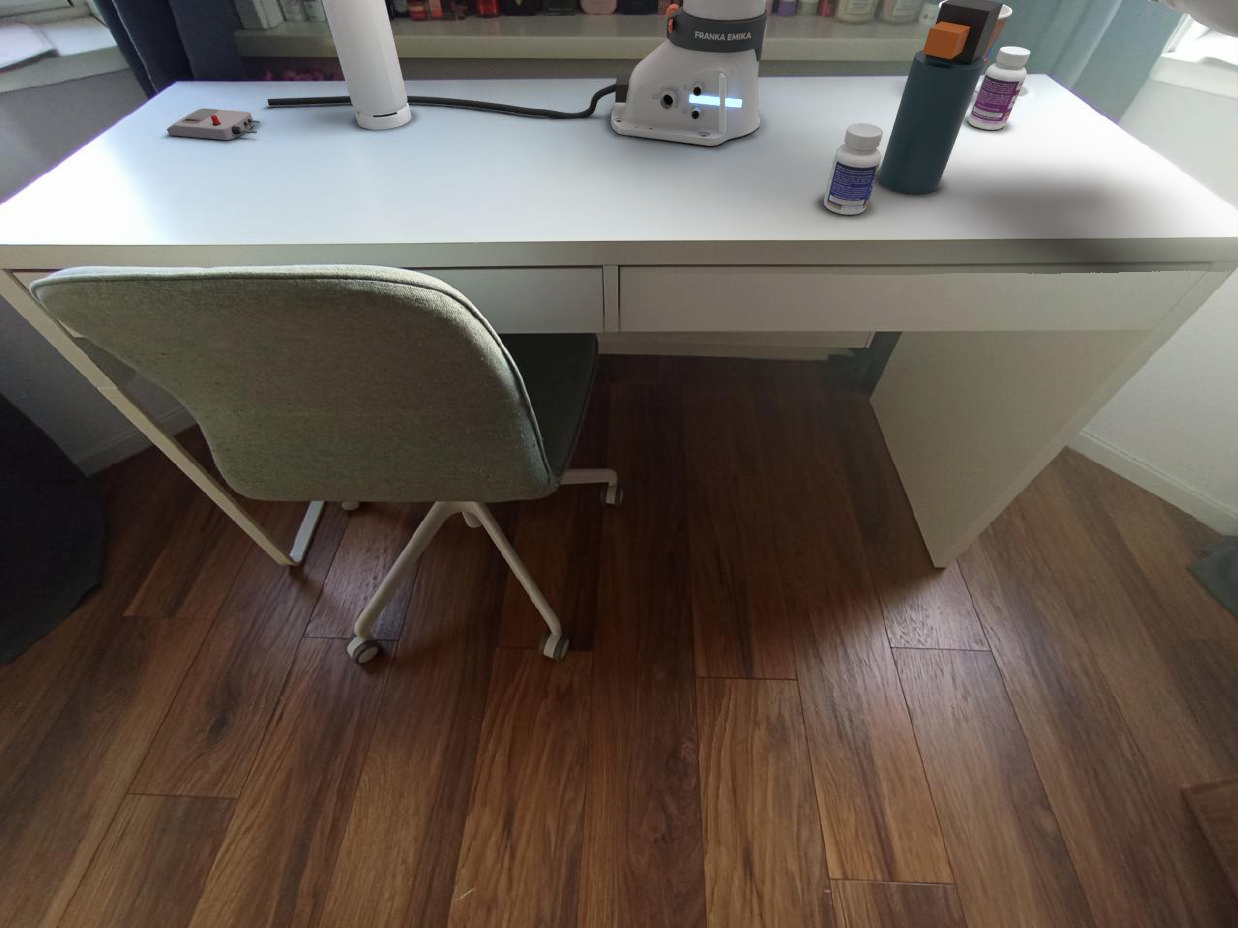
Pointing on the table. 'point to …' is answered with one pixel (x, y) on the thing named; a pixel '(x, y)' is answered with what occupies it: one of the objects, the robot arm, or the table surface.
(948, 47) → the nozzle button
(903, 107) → the sports bottle
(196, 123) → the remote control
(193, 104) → the table surface
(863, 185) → the pill bottle
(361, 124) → the bottle
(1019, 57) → the pill bottle
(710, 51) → the robot arm
